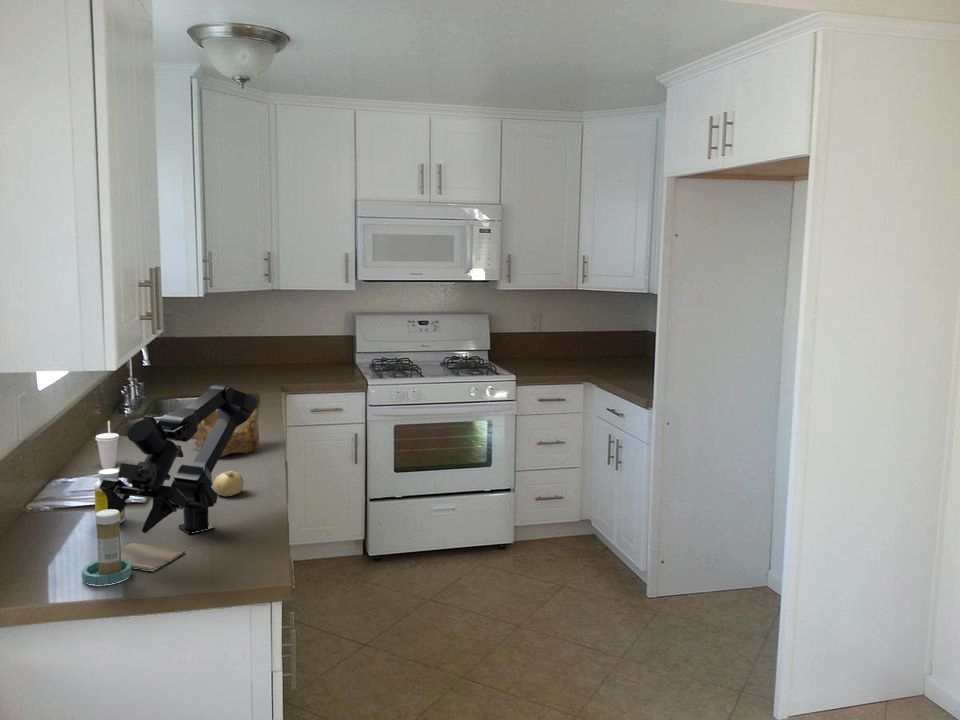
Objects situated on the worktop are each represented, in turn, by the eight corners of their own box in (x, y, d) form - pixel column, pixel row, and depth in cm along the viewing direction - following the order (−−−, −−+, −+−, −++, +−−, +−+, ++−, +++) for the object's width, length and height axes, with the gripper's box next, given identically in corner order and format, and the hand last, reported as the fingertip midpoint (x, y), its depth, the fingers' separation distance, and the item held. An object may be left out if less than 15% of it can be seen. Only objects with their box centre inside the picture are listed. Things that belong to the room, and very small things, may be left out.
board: (132, 544, 186) (132, 542, 186) (184, 553, 183) (184, 550, 182) (97, 563, 176) (97, 559, 176) (152, 572, 172) (152, 569, 172)
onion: (207, 495, 222) (206, 470, 221) (228, 488, 229) (228, 463, 228) (229, 501, 218) (228, 475, 217) (250, 493, 225) (250, 468, 224)
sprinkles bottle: (123, 569, 172) (121, 507, 170) (120, 578, 167) (117, 515, 165) (100, 570, 171) (97, 509, 169) (95, 579, 166) (93, 516, 164)
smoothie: (119, 469, 243) (118, 423, 241) (96, 470, 241) (94, 424, 238) (120, 463, 249) (118, 418, 247) (97, 464, 246) (95, 419, 244)
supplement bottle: (106, 528, 196) (104, 476, 194) (89, 522, 199) (87, 472, 197) (131, 520, 201) (129, 470, 199) (114, 515, 205) (112, 465, 203)
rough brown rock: (183, 465, 251) (183, 419, 248) (184, 447, 267) (184, 403, 263) (261, 463, 259) (262, 418, 255) (258, 445, 274) (259, 403, 271)
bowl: (105, 565, 175) (104, 556, 175) (141, 571, 172) (140, 562, 172) (72, 582, 166) (72, 572, 166) (110, 589, 164) (109, 579, 163)
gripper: (102, 442, 178) (67, 507, 170) (176, 451, 173) (143, 518, 164) (129, 467, 187) (96, 529, 178) (199, 476, 182) (169, 541, 173)
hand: (125, 529), depth 173 cm, fingers open, 9 cm apart
